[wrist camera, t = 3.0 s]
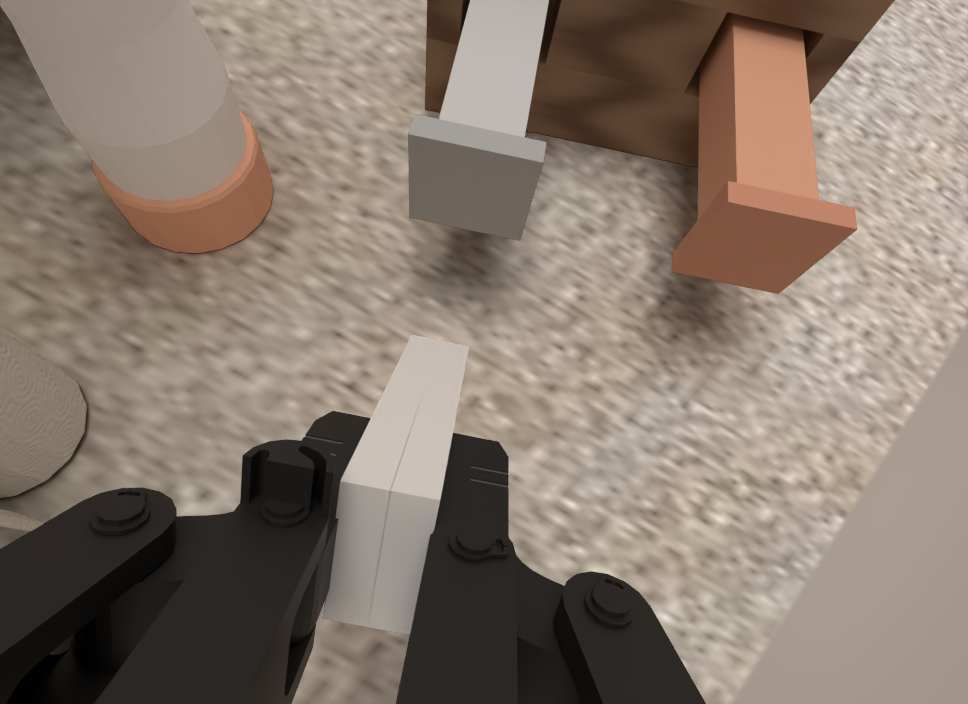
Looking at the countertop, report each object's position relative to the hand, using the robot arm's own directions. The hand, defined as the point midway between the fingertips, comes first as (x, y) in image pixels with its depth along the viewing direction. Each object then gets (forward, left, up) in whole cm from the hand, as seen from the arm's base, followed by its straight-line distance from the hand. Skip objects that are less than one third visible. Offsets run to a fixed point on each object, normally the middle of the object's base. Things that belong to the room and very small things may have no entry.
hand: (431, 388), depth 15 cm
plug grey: (0, +17, -7) cm, 18 cm away
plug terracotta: (+12, +17, -7) cm, 22 cm away
